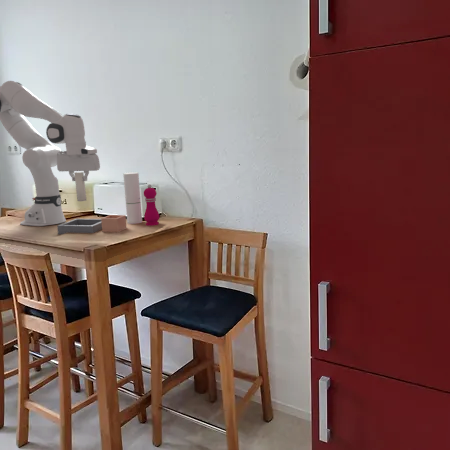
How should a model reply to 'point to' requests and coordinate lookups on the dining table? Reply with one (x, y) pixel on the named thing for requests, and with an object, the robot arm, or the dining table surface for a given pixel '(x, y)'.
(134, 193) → the cylindrical container
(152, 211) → the pepper mill
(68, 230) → the tray
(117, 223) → the pink block with hole
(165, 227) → the dining table surface
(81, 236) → the dining table surface
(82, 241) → the dining table surface
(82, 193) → the dowel
